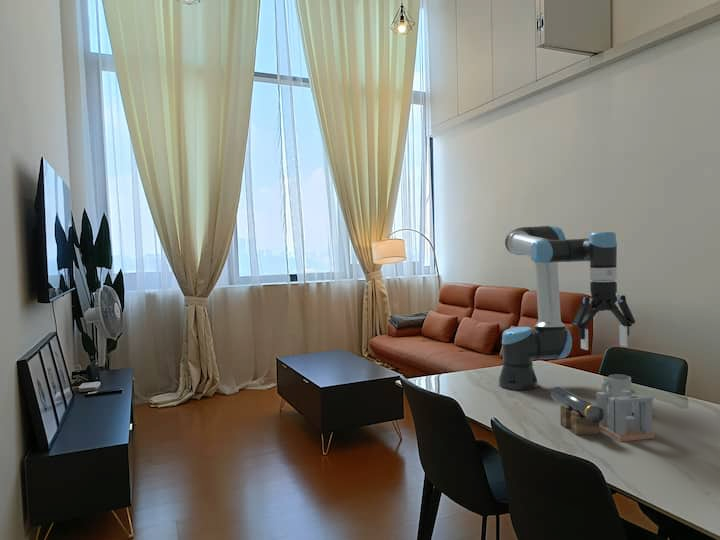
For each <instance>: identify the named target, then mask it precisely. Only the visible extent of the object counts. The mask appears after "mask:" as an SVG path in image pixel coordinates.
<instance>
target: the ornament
mask: <svg viewBox="0 0 720 540" xmlns="http://www.w3.org/2000/svg"><path fill="white" fill-rule="evenodd" d="M624 386H628V385H624ZM619 390H624V389H622V388H621V389H619ZM629 390H630V391H631V392H632V396H635V395H639V394H638V393H637V392H636V389H635V388H632V387H631V388H630V389H629ZM632 414H634V403H632Z"/></svg>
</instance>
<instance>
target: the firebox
mask: <svg viewBox="0 0 720 540" xmlns="http://www.w3.org/2000/svg"><path fill="white" fill-rule="evenodd" d="M607 394H608V393H607ZM607 394H606V393H604V392H602V391H596V394H595V396H596V397H595V398H596V399H595V400H596V403H595V404H596V406H597V407H599V408H601V409H602V410H603V412H604V417H603V419H602V420H601V421H600V422H599V431H601V432H603V433H604V434H607V435H608V436H610V437H612V438H614V440H617V441H619V442H629V441H638V440H639V441H640V440H647V439H650V440H651V439H655V438H656V435H655V433H653V402H654V397H652V396H650V395H648V394H638V395H635V396H632V392H631V391H628V390H621V397H612V398H607ZM632 403H634V413H632Z"/></svg>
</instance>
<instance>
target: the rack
mask: <svg viewBox="0 0 720 540" xmlns="http://www.w3.org/2000/svg"><path fill="white" fill-rule="evenodd" d="M559 411H560V426H562V427H564V428H565V429H570V432H571V433H573V434H574V435H576V436H581V435H591V434H593V435H594V434H600V429H599V422H598V423H594V422H592V421H590V420H588V419H587V418H585V417H583V416H582V415H580V414H579V413H577V412H576V411H573V410H571V409H569V407H567V406H565V405H562V404H560V410H559Z"/></svg>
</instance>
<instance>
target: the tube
mask: <svg viewBox="0 0 720 540" xmlns="http://www.w3.org/2000/svg"><path fill="white" fill-rule="evenodd" d="M550 396H551V398H552V400H553V401H556V402H558V403H559V404H560V405H565V406H567V407H569V409H571V410H573V411H576V412H577V413H579V414H580V415H582V416H583V417H585V418H587V419H588V420H590V421H592V422H594V423H598V422H600V421H601V420H602V419H603V417H604V412H603V410H602V409H601V408H599V407H597V405H596V404H593V403H591V402H590V401H587V400H586V399H584V398H581V397H580V396H577V395H575V394H574V393H572V392H570V391H568V390H567V389H565V388H562V387H560V386H555V387H553V388H552V389H551V391H550Z"/></svg>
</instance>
